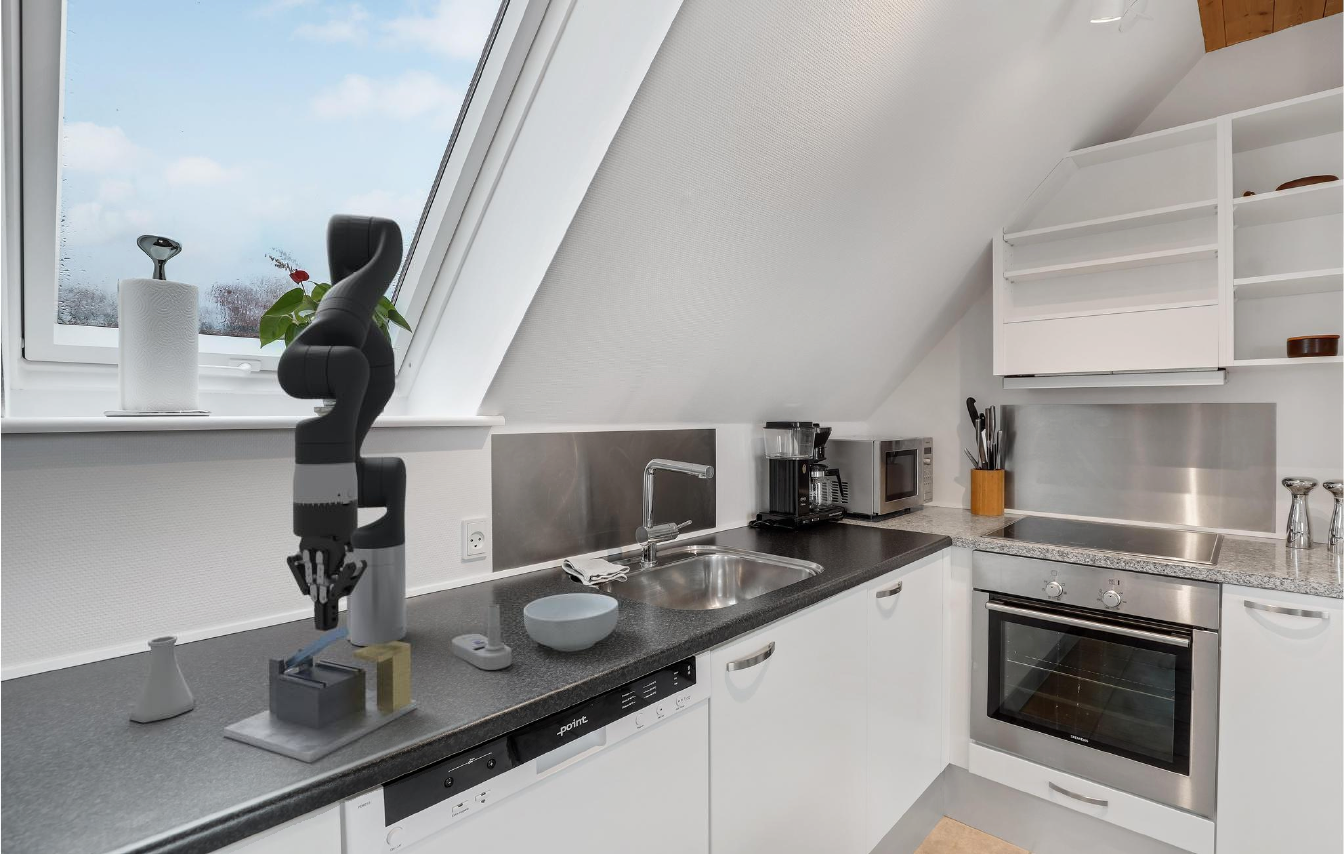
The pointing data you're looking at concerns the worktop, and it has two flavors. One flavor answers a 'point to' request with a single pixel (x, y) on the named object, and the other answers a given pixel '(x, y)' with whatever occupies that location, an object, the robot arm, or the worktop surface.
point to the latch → (390, 673)
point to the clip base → (309, 737)
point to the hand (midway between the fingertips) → (326, 628)
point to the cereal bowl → (571, 620)
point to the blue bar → (315, 649)
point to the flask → (162, 685)
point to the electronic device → (484, 645)
